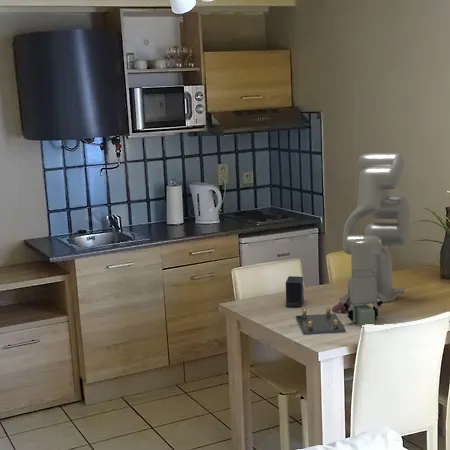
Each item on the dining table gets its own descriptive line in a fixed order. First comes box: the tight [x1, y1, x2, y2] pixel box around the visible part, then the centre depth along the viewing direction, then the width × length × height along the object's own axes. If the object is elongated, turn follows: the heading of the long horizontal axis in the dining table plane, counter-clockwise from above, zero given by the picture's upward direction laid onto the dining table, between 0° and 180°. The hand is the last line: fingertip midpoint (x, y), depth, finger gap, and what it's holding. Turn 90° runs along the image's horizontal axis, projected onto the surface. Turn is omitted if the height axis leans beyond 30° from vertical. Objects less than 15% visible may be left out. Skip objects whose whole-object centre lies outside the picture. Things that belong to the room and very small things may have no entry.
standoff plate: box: [295, 306, 346, 336], centre depth 262 cm, size 15×20×4 cm
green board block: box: [352, 304, 376, 328], centre depth 262 cm, size 5×11×6 cm, turn 8°
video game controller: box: [331, 298, 350, 313], centre depth 279 cm, size 10×5×7 cm, turn 148°
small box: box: [285, 275, 305, 308], centre depth 291 cm, size 11×6×10 cm, turn 168°
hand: (363, 319), depth 262 cm, fingers open, 8 cm apart
